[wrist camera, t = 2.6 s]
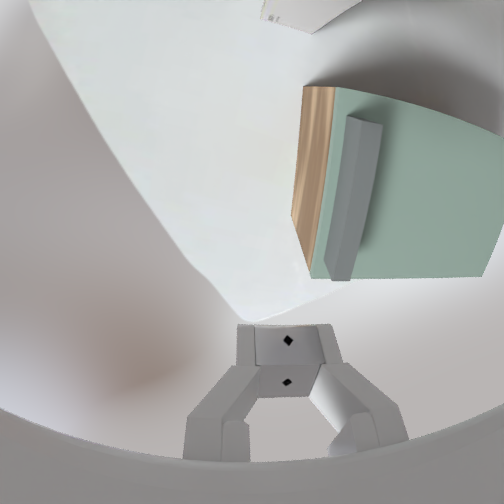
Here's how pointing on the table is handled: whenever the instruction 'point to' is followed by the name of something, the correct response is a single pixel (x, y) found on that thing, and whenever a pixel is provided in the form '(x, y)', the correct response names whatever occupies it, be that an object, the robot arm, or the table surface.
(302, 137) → the wooden box
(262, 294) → the table surface
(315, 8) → the packaging
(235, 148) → the table surface
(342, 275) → the lid
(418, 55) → the table surface
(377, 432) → the robot arm
